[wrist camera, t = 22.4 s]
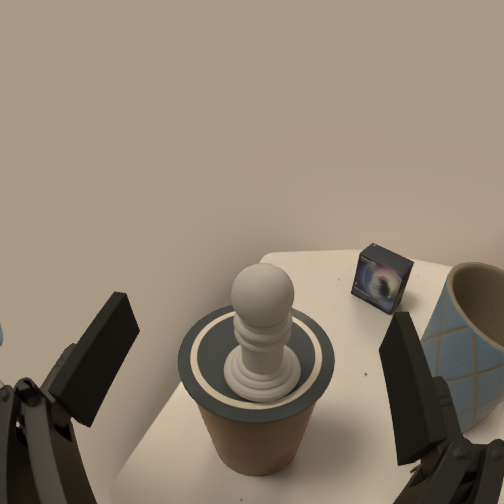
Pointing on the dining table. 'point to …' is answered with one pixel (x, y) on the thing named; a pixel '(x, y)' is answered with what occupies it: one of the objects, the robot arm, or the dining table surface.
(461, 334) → the planter
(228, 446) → the walnut pedestal
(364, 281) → the small box
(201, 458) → the dining table surface
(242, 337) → the chess piece
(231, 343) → the slate board
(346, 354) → the dining table surface
